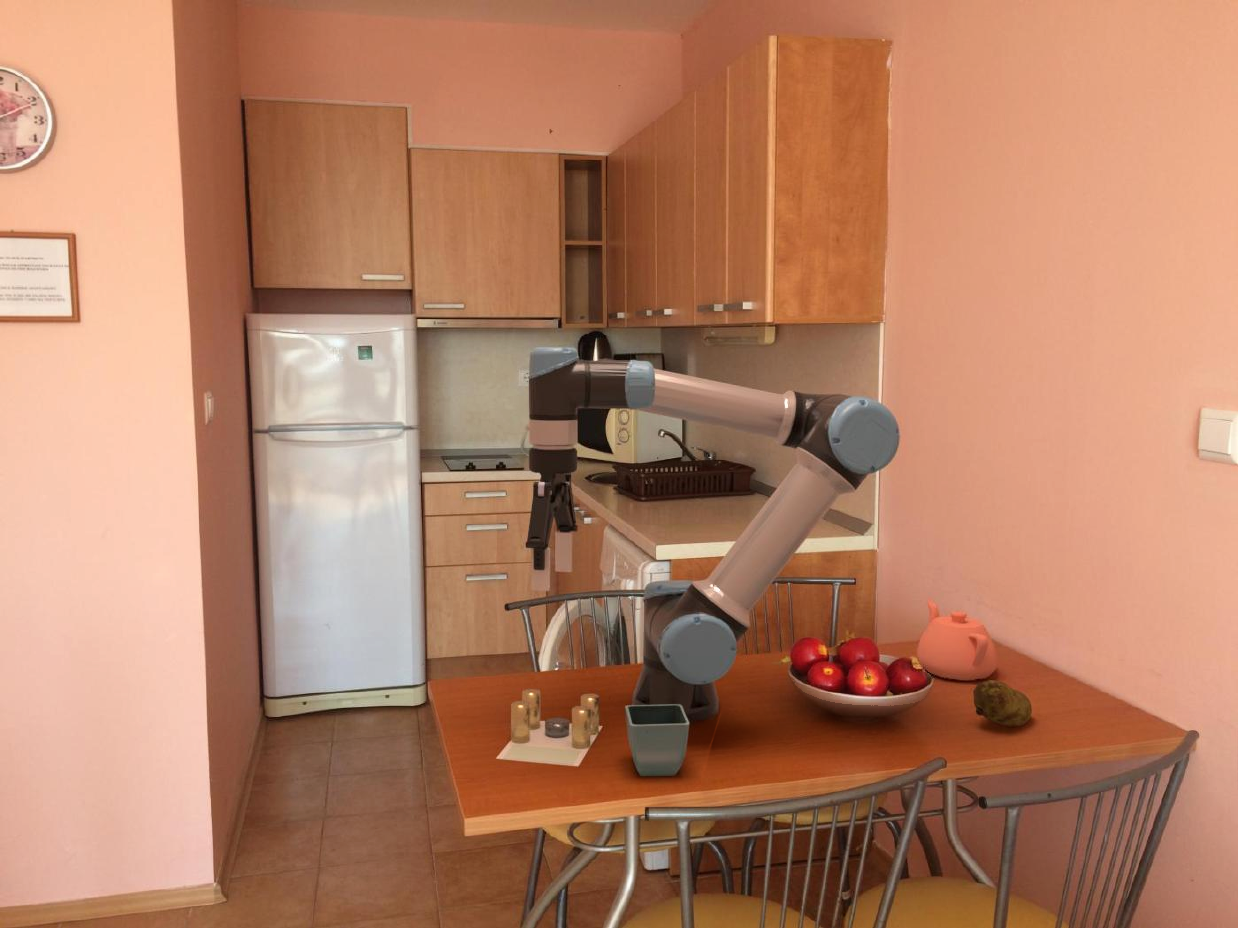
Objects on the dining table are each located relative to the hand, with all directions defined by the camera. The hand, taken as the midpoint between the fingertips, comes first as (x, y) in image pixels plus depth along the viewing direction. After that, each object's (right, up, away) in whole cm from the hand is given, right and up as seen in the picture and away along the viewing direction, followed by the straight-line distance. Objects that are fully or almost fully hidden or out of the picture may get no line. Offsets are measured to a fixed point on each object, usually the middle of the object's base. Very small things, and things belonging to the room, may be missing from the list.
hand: (552, 580), depth 163 cm
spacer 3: (+6, -26, +7) cm, 27 cm away
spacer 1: (-5, -26, +3) cm, 27 cm away
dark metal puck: (0, -26, +6) cm, 26 cm away
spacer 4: (+4, -26, +1) cm, 27 cm away
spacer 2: (-4, -25, +9) cm, 27 cm away
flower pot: (+16, -28, -7) cm, 33 cm away
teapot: (+77, -23, +43) cm, 92 cm away
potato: (+76, -26, +14) cm, 82 cm away
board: (0, -27, +2) cm, 27 cm away
